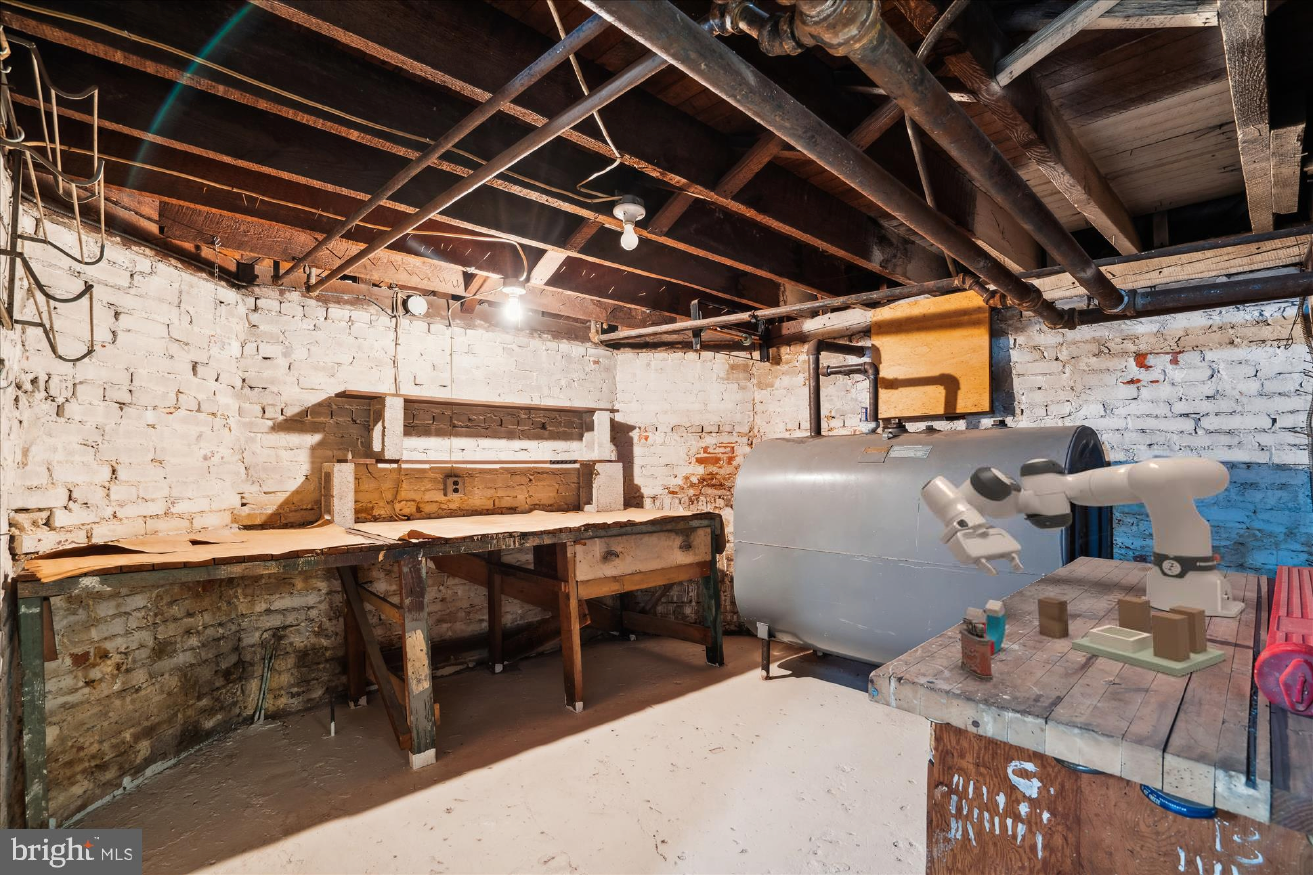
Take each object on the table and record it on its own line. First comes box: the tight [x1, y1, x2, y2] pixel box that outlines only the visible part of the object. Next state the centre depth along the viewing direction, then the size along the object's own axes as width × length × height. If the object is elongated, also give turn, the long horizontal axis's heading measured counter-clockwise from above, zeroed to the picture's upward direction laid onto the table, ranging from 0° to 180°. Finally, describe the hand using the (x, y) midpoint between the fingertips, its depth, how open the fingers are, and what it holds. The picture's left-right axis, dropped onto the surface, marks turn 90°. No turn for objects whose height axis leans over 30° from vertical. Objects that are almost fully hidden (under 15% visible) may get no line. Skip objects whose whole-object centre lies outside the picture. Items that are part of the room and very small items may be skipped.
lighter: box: [959, 615, 994, 682], centre depth 109 cm, size 8×3×10 cm, turn 179°
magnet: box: [965, 599, 1007, 655], centre depth 119 cm, size 12×3×10 cm, turn 126°
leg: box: [1037, 596, 1070, 640], centre depth 129 cm, size 4×4×8 cm
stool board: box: [1071, 595, 1227, 678], centre depth 116 cm, size 18×18×10 cm
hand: (1007, 573), depth 138 cm, fingers open, 8 cm apart
